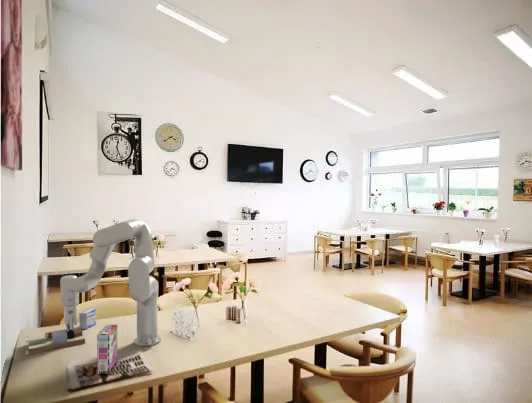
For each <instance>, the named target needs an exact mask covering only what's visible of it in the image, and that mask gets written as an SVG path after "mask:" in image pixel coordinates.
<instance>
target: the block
mask: <svg viewBox="0 0 532 403" xmlns="http://www.w3.org/2000/svg"><path fill="white" fill-rule="evenodd" d="M63 330H64V329H63ZM57 331H58V332H53V331H52V332H53V333H52V340H51V343H52V344H58V343H63V342H68V340H67V332H66V330H64V331H59V330H57ZM52 344H51V345H52Z"/></svg>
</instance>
